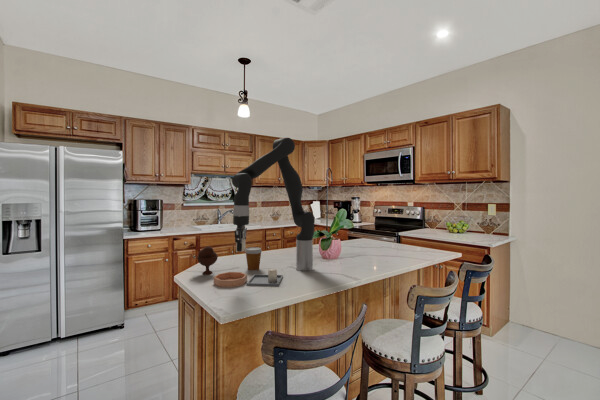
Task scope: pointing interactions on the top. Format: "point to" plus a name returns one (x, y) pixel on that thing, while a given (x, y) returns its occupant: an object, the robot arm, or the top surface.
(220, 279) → the terracotta bowl
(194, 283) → the top surface
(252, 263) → the disposable coffee cup
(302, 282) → the top surface
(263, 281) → the tray
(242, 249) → the pebble
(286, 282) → the top surface
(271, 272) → the pebble
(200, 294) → the top surface
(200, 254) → the ice cream bowl
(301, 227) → the robot arm
